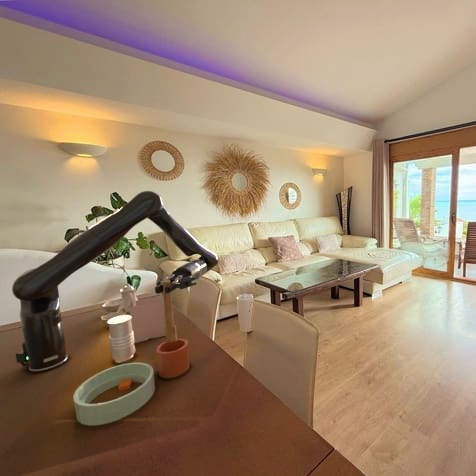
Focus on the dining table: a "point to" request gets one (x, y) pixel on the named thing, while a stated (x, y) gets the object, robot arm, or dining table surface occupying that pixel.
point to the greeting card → (147, 320)
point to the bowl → (117, 407)
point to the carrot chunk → (125, 384)
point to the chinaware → (120, 304)
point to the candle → (121, 338)
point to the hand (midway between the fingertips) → (161, 290)
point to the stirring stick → (169, 315)
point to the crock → (172, 358)
